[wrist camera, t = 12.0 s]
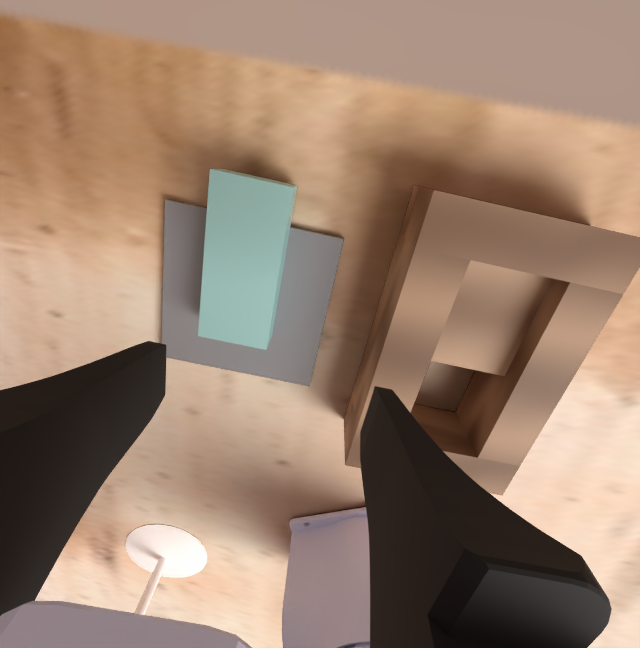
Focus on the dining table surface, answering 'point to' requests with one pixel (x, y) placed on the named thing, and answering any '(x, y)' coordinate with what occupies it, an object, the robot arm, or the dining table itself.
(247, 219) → the teal block
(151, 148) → the dining table surface
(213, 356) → the grey mat
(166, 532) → the wineglass
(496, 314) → the walnut frame
